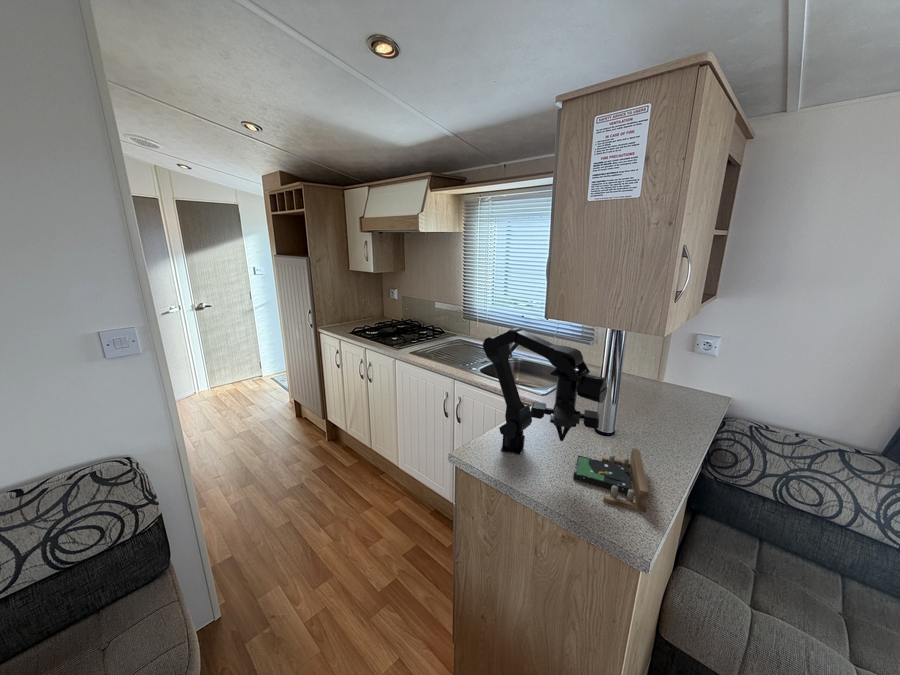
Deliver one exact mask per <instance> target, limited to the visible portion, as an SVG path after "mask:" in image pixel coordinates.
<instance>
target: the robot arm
mask: <svg viewBox="0 0 900 675" xmlns="http://www.w3.org/2000/svg"><path fill="white" fill-rule="evenodd" d="M513 343H514V344H516V345H518V346H520V347H523V348H524V349H526V350H529V351H530V352H533V353H535V354H537V355H539V356H541V357H543V358H545V359H547V361H548V362H549V363H550V365H552V367H554V368H555V369H554V370H553V371H551V372H550V373H549V374H550V376H554V377H557V378H556V388H555V399H554V405H553V408H550V407H547V403H545V402H539V401H534V402H533V403H532V406H530V405H525V404H524V403H523V402H522V400H521V397H520V394H519V390H518V388H517V384H516V380H515V378H514V375H513V371H512V368H511V365H510V362H509V361H510V360H509V357H510V352H511V350H510V345H511V344H513ZM482 349H483V351H484V353H485V356H486V358H487V359H488V360H489V361H490V362H491V363H492V364H493V366H494V369H495V372H496V375H497V379H498V383H499V386H500V388H501V392H502V396H503V399H504V402H505V405H506V407H505V415H504V418H505V423H504V424H503V425H501V426H499V428H498V429H499V434H500V435H502V444H501V448H500V451H502V452H506V453H509V454H510V453H512V454H516V455H521V453H522V451H523V450H524V448H525V439H526V438H525V435H524V430H526V429H527V428H528V427H530V426H531V424H532V422H533V418H534V419H540V420H541V419H543V418H544V417H545V415H548V416H550V419H549V423H551V424H553V425H554V426H555V428H556V431H557V434H558V438H559V439H558V440H559V441H560V442H564V440H565V438H566V436H567V434H568V433H569V431H570V430H571V429H572V428H576V427H577V424H578V425H579V424H580V421H583V425H584V426H585V427H586V428H589V429H595V430H597V429H599V425H600V414H599V413H598V411H596V410H595V411H594V410H589V409H584V412H583V413H581V411H580V410H579V411H578V410H576V406H577V405H576V404H577V396H579V397H580V398H583V399H586V400H588V401H592V402H596V403H600V404H603V403H604V401H605V399H606V397H607V393H608V385H607V382H606V377H603V376H595V375H592V374H590V373H591V371H590V370H589V368H588V365H587V364H586V362H585V361H584V356H583V354H582V352H581V350H580V349H578V348H574V347H570V346H567V345H558V344H554V343H552V342H550V341H548V340H545V339H543V338H541V337H539V336H537V335H534V334H532V333H530V332H528V331H526V330H523V329H522V328H521V327H514V328H511V329H509V330H507V331H506V332H504V333H502V334H501V333H500V334H499V333H498V334H495V335H492V336H489V337H486V338H485V339H484V340H483V342H482ZM576 369H578V370H577V371H576Z"/></svg>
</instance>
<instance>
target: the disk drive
mask: <svg viewBox="0 0 900 675" xmlns="http://www.w3.org/2000/svg"><path fill="white" fill-rule="evenodd" d="M573 471H574V472H573V476H572V480H573V481H577V480H578V481H577V482H580V483H583V482H584V483H585V484H587V483H588V485H592V486H594V485H595V487H597V488H602V489H604V490H605V489H606V490H609V491H611V488H612V486H613V485H614V486H617V487H618V493H619V494H622V495H626V496H627V494H628V490H629V489H631V486H630V485H631V483H630V482H631V471H630V467H628V468H626V467H623V466H620V465H615V464H611V463H607V462H603V461H602V460H598V459H594V458H590V457H587V456H583V455H577V460H576V463H575V467H574V470H573ZM618 493H617V494H618Z"/></svg>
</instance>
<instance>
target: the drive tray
mask: <svg viewBox="0 0 900 675" xmlns="http://www.w3.org/2000/svg"><path fill="white" fill-rule="evenodd" d="M630 453H631V454H630V458H629V457H626V456H624V457H623V458H622V459H617V458H615V457H616V456H615V455H614V454H613V453H612V454H609V455H608V457H607V456H601V461H603V462H607V463H611V464H614V465H618V466H623V467H626V468H630V478H631V482H632V489H631V488H630V489H629V490H628V494H627V495H626V499H622V498H618V487H617V486H614V485H613V486H612V488H611V490H610V496H609V495H605V494H603V498H602V499H603V502H604V503H607V504H611V505H614V506H619V507H624V508H627V509H630V510H635V511H639V512H643V513H646V511H647V507H648V501H649V495H650V491H649V490H650V489H649V486H648V481H647V477H646V471H645V468H644V463H643V459H642V455H641V450H640V449H637V448H632V449H631V452H630ZM634 500H635V501H634Z"/></svg>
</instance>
